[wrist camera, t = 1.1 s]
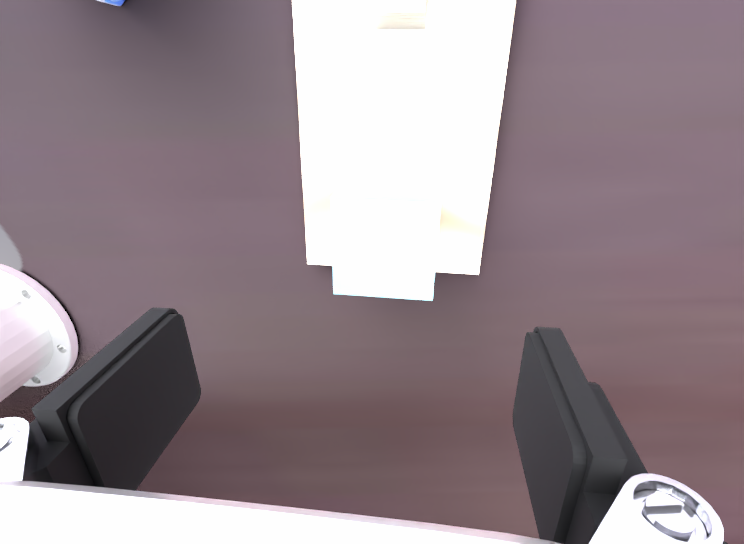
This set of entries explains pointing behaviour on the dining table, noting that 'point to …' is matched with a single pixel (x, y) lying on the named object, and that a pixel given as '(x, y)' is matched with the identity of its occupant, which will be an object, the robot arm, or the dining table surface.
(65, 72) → the dining table surface
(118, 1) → the medicine box
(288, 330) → the dining table surface
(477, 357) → the dining table surface
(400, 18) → the post
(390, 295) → the pale aqua block
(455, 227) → the base board
